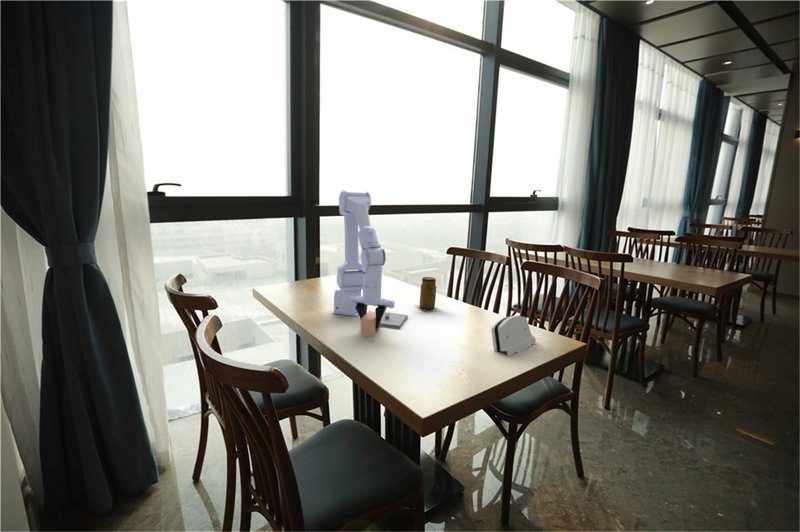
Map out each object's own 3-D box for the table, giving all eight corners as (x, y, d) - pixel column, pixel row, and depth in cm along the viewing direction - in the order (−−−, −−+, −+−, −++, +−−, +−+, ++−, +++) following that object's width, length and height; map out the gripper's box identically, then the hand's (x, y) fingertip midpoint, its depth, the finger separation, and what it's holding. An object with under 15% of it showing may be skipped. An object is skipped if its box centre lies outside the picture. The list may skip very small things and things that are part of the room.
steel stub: (384, 318, 132) (384, 312, 132) (385, 316, 134) (385, 310, 133) (388, 318, 132) (388, 312, 132) (389, 317, 134) (390, 311, 133)
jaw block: (360, 335, 119) (360, 318, 118) (368, 326, 126) (369, 310, 125) (372, 337, 118) (373, 320, 117) (380, 328, 126) (380, 312, 124)
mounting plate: (364, 324, 129) (365, 321, 129) (375, 313, 140) (375, 310, 140) (399, 328, 126) (399, 325, 126) (407, 317, 137) (407, 314, 137)
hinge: (508, 356, 108) (501, 321, 109) (494, 356, 112) (487, 322, 112) (536, 342, 120) (530, 311, 120) (523, 342, 123) (516, 312, 124)
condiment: (430, 304, 155) (432, 275, 153) (441, 310, 148) (443, 280, 145) (414, 306, 152) (416, 276, 149) (425, 312, 144) (427, 281, 142)
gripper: (345, 286, 117) (344, 328, 120) (391, 291, 114) (389, 334, 116) (353, 281, 124) (352, 321, 126) (396, 285, 120) (395, 326, 123)
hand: (370, 326), depth 122 cm, fingers closed on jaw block, 4 cm apart
